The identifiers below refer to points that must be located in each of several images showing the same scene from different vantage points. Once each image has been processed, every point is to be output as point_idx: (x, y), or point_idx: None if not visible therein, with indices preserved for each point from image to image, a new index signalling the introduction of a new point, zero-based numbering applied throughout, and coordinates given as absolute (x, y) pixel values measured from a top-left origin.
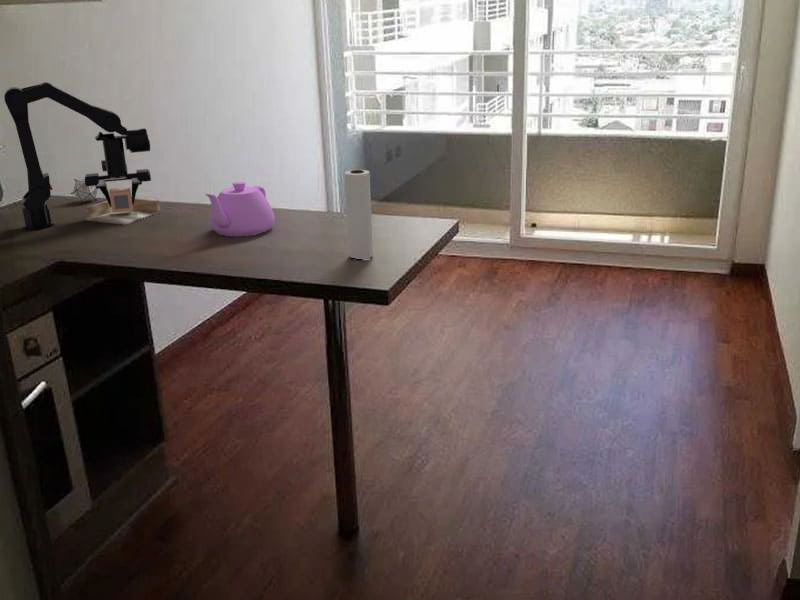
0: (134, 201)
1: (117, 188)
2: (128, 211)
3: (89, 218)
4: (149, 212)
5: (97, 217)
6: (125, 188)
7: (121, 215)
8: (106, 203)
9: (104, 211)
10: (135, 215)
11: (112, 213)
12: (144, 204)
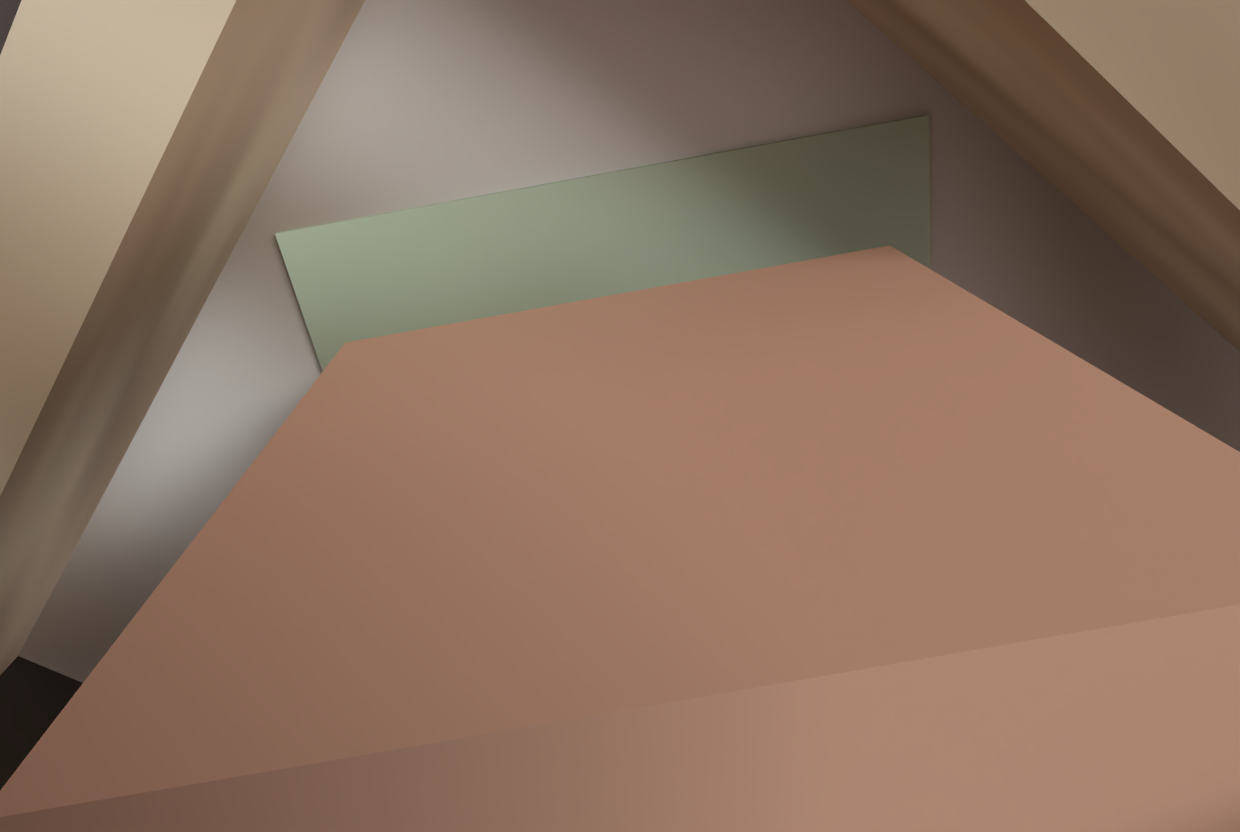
0: (1009, 33)
1: (529, 724)
2: (723, 206)
3: (11, 657)
4: (1174, 398)
5: (135, 571)
6: (1079, 815)
7: None
8: (98, 335)
9: (157, 360)
10: None
11: (365, 326)
12: (1233, 279)
